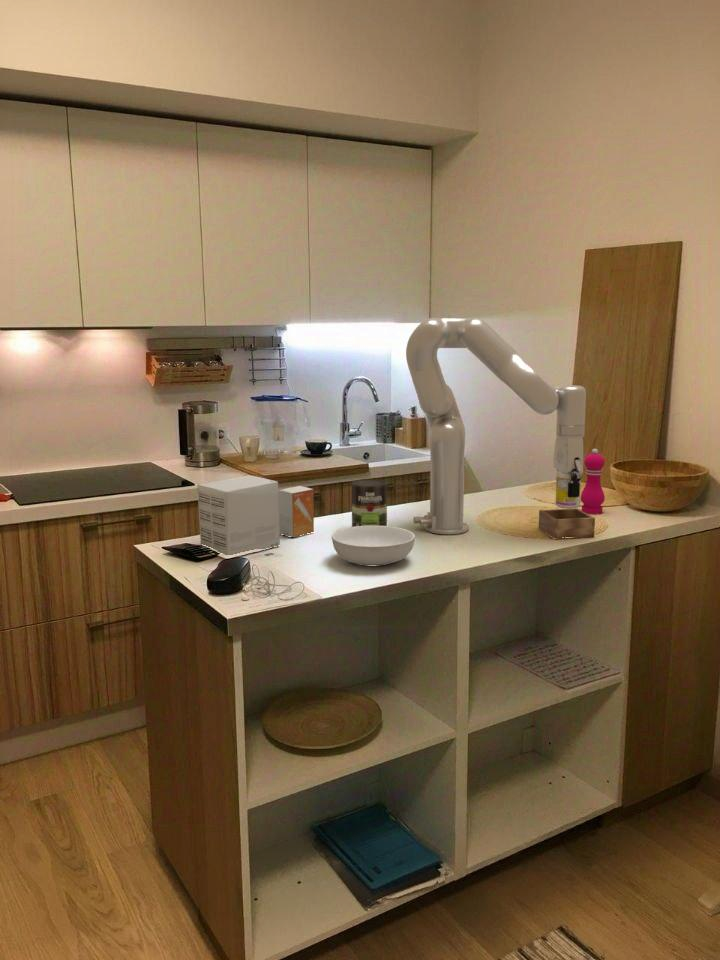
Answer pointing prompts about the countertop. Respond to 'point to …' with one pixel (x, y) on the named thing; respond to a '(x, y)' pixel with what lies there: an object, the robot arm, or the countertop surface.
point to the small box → (296, 511)
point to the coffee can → (369, 502)
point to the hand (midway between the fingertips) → (567, 493)
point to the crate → (567, 523)
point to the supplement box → (239, 514)
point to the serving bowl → (373, 544)
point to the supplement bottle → (565, 492)
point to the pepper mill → (593, 484)
